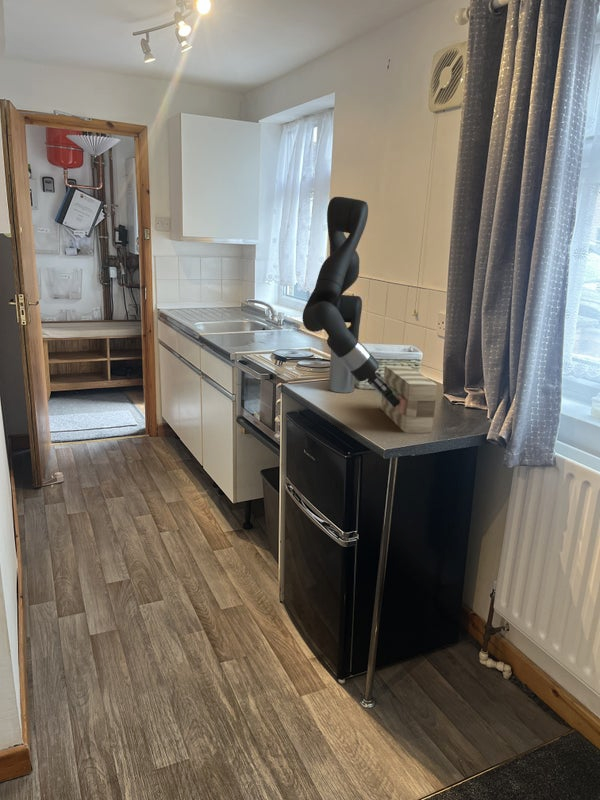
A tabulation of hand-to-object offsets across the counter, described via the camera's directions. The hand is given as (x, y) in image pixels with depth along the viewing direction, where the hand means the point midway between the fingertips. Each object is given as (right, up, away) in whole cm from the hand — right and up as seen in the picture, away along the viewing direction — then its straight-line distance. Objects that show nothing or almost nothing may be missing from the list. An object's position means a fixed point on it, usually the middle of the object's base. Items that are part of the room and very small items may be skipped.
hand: (396, 404), depth 166 cm
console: (+4, -5, +11) cm, 12 cm away
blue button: (0, +2, +16) cm, 16 cm away
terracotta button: (+2, -2, +1) cm, 3 cm away
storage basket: (+4, +6, +52) cm, 52 cm away
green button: (+1, 0, +9) cm, 9 cm away
